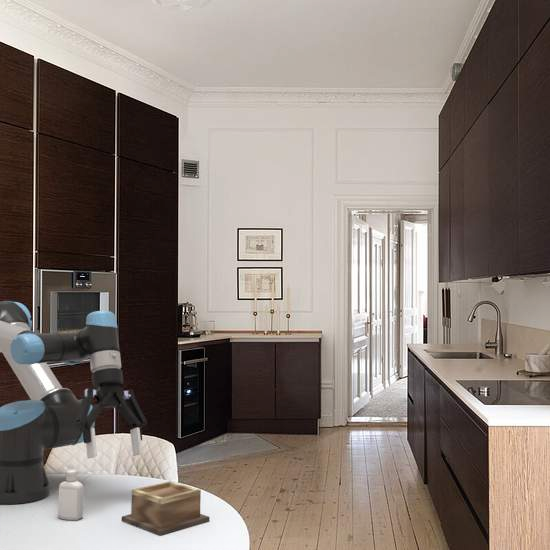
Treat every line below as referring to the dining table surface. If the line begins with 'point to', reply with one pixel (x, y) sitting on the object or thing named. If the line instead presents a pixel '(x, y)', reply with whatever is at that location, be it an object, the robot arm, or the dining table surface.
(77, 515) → the eye dropper bottle
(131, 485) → the dining table surface
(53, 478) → the dining table surface
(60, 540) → the dining table surface
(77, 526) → the dining table surface
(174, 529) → the display pedestal
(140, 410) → the robot arm
